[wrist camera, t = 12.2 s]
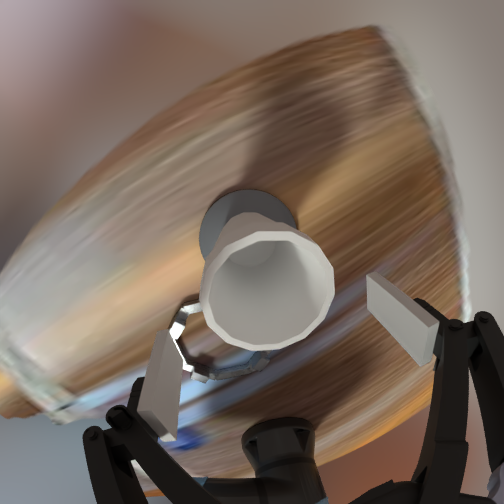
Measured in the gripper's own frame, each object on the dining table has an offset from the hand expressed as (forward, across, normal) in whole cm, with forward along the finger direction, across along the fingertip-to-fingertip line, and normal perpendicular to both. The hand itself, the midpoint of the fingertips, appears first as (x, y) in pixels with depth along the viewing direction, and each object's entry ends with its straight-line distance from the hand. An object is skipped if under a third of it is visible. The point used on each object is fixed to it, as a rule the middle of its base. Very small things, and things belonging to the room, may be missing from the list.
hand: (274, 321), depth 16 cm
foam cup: (+15, 0, +1) cm, 15 cm away
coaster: (+16, 0, +1) cm, 16 cm away
